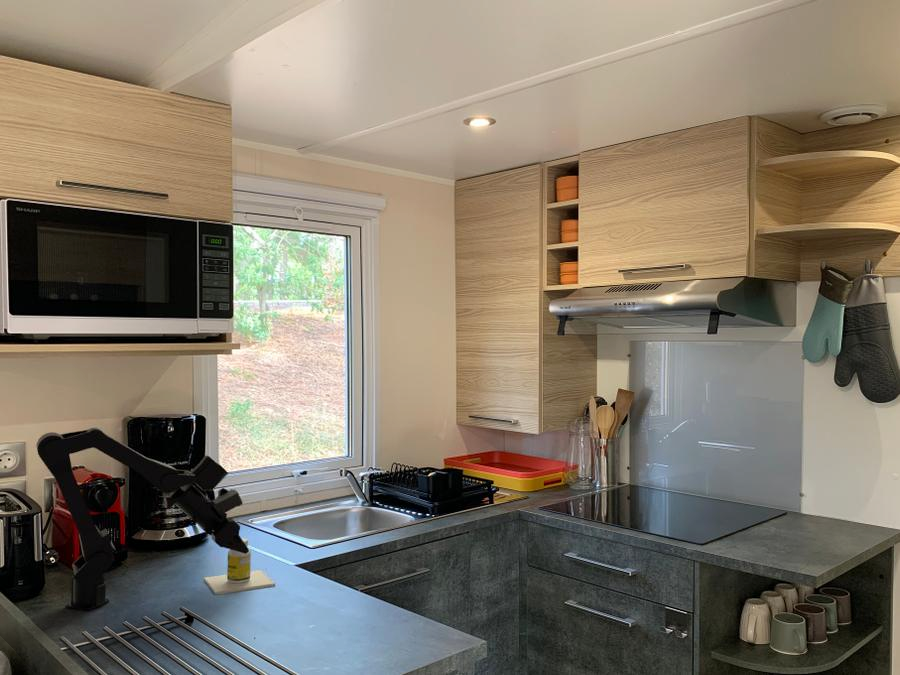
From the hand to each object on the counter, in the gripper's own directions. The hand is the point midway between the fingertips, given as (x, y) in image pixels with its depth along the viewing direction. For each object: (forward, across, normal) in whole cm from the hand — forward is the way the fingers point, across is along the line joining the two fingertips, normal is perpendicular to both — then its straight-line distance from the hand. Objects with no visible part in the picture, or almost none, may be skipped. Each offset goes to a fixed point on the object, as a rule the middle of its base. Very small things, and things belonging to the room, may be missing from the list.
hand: (242, 547), depth 185 cm
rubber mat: (+6, 0, +6) cm, 9 cm away
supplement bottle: (+5, 0, +6) cm, 8 cm away
